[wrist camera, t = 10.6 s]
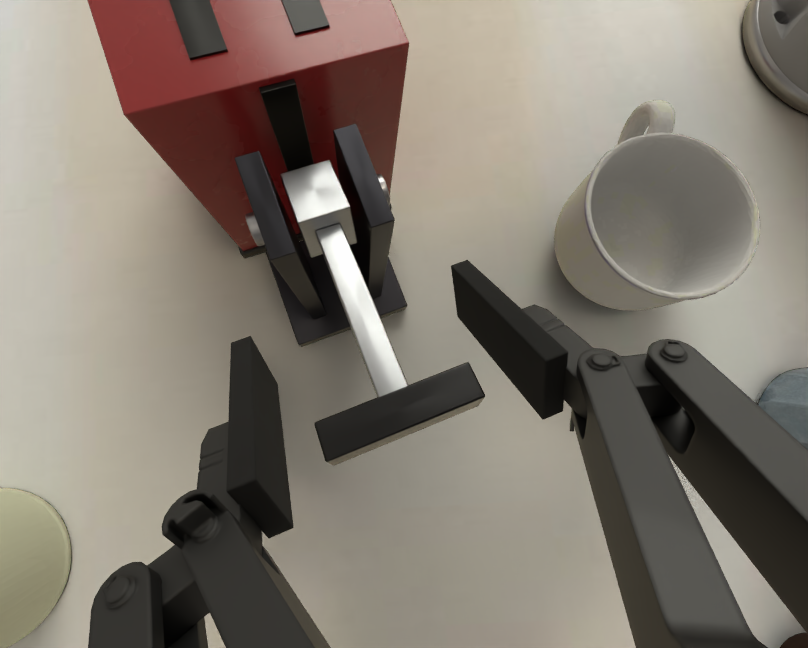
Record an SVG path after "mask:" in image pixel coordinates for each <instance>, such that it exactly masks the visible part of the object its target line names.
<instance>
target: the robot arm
mask: <svg viewBox="0 0 808 648" xmlns="http://www.w3.org/2000/svg"><path fill="white" fill-rule="evenodd" d="M743 40H744V45H745V49H746V52H747V55H748V57H749V60H750V62H751V64H752V66H753V68H754V70H755V71H756V73H757V74H758V76H759V77H760V79H761V80H762V81H763V82H764V84H765V85H766V86H767V87H768V88H769V89H770V90H771V91H772V92H773V93H774V94H775V95H776V96H777V97H779V98H780V99H781V100H782V101H784V102H785V103H787V104H788V105H790V106H791V107H793V108H795V109H797V110H799V111H801V112H803V113H805V114H808V0H751V1H750V2H749V4H748V6H747V8H746V11H745V14H744V19H743ZM451 269H452V276H453V284H454V292H455V300H456V307H457V315H458V318H459V319H460V320H461V321H462V322H463V324H464V325H465V326H466V327H467V328H468V330H469V331H470V332H471V333H472V334H473V336H474V337H475V338H476V339H477V340H478V342H479V343H480V344H481V345H482V347H483V348H484V349H485V350H486V351H487V353H488V354H489V355H490V356H491V357H492V359H493V360H494V361H495V362H496V363H497V365H498V366H499V367H500V368H501V370H502V371H503V372H504V373H505V374H506V376H507V377H508V378H509V379H510V380H511V382H512V383H513V384H514V385H515V386H516V388H517V389H518V390H519V391H520V393H521V394H522V395H523V396H524V397H525V399H526V400H527V401H528V402H529V403H530V405H531V406H532V407H533V408H534V409H535V411H536V412H537V413H538V414H539V416H540V417H541V418H542V419H546V418H548V417H550V416H553V415H555V414H557V413H560V412H562V411H563V403H564V400H565V401H566V402H567V403H568V404H569V406H570V407H571V408H572V412H571V421H570V431H574V427H575V431H576V434H577V438H578V441H579V445H580V449H581V452H582V456H583V459H584V463H585V467H586V470H587V474H588V477H589V481H590V484H591V488H592V492H593V495H594V499H595V502H596V506H597V509H598V513H599V517H600V520H601V524H602V527H603V531H604V535H605V538H606V542H607V545H608V549H609V552H610V556H611V560H612V563H613V567H614V570H615V574H616V578H617V581H618V585H619V588H620V592H621V595H622V599H623V603H624V606H625V610H626V613H627V617H628V620H629V624H630V628H631V631H632V635H633V638H634V642H635V646H636V648H767V647H766V646H765V645H763V644H762V643H761V642H759V641H758V640H757V639H756V638H755V636H754V635H753V634H752V632H751V630H750V629H749V627H748V625H747V623H746V621H745V619H744V617H743V614H742V612H741V610H740V608H739V606H738V604H737V602H736V599H735V597H734V595H733V593H732V591H731V589H730V587H729V584H728V582H727V580H726V578H725V576H724V574H723V572H722V570H721V567H720V565H719V563H718V561H717V559H716V557H715V555H714V552H713V550H712V548H711V546H710V544H709V542H708V540H707V538H706V535H705V533H704V531H703V529H702V527H701V525H700V523H699V520H698V518H697V516H696V514H695V512H694V510H693V508H692V505H691V503H690V501H689V499H688V497H687V495H686V493H685V491H684V488H683V486H682V484H681V482H680V480H679V478H678V476H677V473H676V471H675V469H674V467H673V465H672V463H671V461H670V458H669V456H670V457H671V459H672V460H673V461H674V463H675V464H676V465H677V466H678V468H679V469H680V470H681V472H682V473H683V474H684V475H685V477H686V478H687V479H688V481H689V482H690V483H691V484H692V486H693V487H694V488H695V490H696V491H697V492H698V493H699V495H700V496H701V497H702V499H703V500H704V501H705V502H706V504H707V505H708V506H709V508H710V509H711V510H712V511H713V513H714V514H715V515H716V517H717V518H718V519H719V520H720V522H721V523H722V524H723V526H724V527H725V528H726V529H727V531H728V532H729V533H730V535H731V536H732V537H733V538H734V540H735V541H736V542H737V544H738V545H739V546H740V547H741V549H742V550H743V551H744V553H745V554H746V555H747V556H748V558H749V559H750V560H751V562H752V563H753V564H754V565H755V567H756V568H757V569H758V571H759V572H760V573H761V574H762V576H763V577H764V578H765V580H766V581H767V582H768V583H769V585H770V586H771V587H772V589H773V590H774V591H775V592H776V594H777V595H778V596H779V597H780V599H781V600H782V601H783V603H784V604H785V605H786V606H787V608H788V609H789V610H790V612H791V613H792V614H793V615H794V617H795V618H796V619H797V621H798V622H799V623H800V624H801V626H802V627H803V628H804V630H805V631H806V632H807V633H808V449H807V448H805V447H804V446H803V445H802V444H801V443H800V442H799V441H798V440H796V439H795V438H794V437H793V436H792V435H791V434H790V433H789V432H787V431H786V430H785V429H784V428H783V427H782V426H781V425H780V424H778V423H777V422H776V421H775V420H774V419H773V418H772V417H771V416H770V415H768V414H767V413H766V412H765V411H764V410H763V409H762V408H761V407H759V406H758V405H757V404H756V403H755V402H754V401H753V400H752V399H750V398H749V397H748V396H747V395H746V394H745V393H744V392H743V391H742V390H740V389H739V388H738V387H737V386H736V385H735V384H734V383H733V382H731V381H730V380H729V379H728V378H727V377H726V376H725V375H724V374H722V373H721V372H720V371H719V370H718V369H717V368H716V367H715V366H714V365H712V364H711V363H710V362H709V361H708V360H707V359H706V358H705V357H703V356H702V355H701V354H700V353H699V352H698V351H697V350H696V349H694V348H693V347H691V346H690V345H688V344H686V343H683V342H681V341H677V340H670V339H666V340H658V341H656V342H653V343H652V344H651V345H650V346H649V348H648V352H647V354H640V355H632V356H619V355H617V354H616V353H614V352H613V351H609V350H606V349H597V348H593V347H591V346H590V345H589V344H588V343H587V342H585V341H584V340H583V339H582V338H581V337H579V336H578V335H577V334H576V333H575V332H573V331H572V330H571V329H570V328H569V327H567V326H565V325H564V323H563V322H561V321H560V320H559V319H557V317H555V316H554V315H553V314H552V313H551V312H549V311H548V310H547V309H544V308H542V307H539V306H537V305H532V306H529V307H526V308H524V309H521V308H520V307H519V306H517V305H516V304H515V303H514V302H513V301H512V300H511V299H510V298H509V297H508V296H506V295H505V294H504V293H503V292H502V291H501V290H500V289H499V288H498V287H497V286H495V285H494V284H493V283H492V282H491V281H490V280H489V279H488V278H487V277H486V276H484V275H483V274H482V273H481V272H480V271H479V270H478V269H477V268H476V267H475V266H473V265H472V264H471V263H470V262H469V261H468V260H466V261H463V262H460V263H457V264H454V265H452V266H451ZM668 455H669V456H668ZM200 459H201V460H200V463H199V470H200V471H199V473H198V483H197V490H193V491H190V492H188V493H187V494H185V495H183V496H182V497H180V498H179V499H178V500H177V501H176V502H175V503H174V504H173V505H172V506H171V507H170V509H169V510H168V512H167V513H166V515H165V517H164V520H163V523H162V533H163V535H164V536H165V537H166V538H167V539H169V540H170V541H171V542H173V543H174V544H175V545H174V546H173V547H172V548H171V549H169V550H168V551H166V552H165V553H164V554H162V555H161V556H160V557H158V558H157V559H156V560H154V561H153V562H152V563H150V564H149V565H147V566H146V565H145V564H144V563H142V562H132V563H129V564H127V565H125V566H122V567H121V568H119V569H118V570H117V571H115V572H114V573H113V574H112V575H110V577H109V578H108V579H107V580H106V581H105V582H104V583H103V585H102V586H101V587H100V589H99V591H98V593H97V595H96V596H95V598H94V602H93V606H92V609H91V620H90V633H89V645H88V648H208V643H207V635H206V628H205V620H204V616H206V615H207V614H208V613H209V612H210V614H211V616H212V618H213V620H214V622H215V625H216V627H217V629H218V631H219V633H220V635H221V638H222V640H223V642H224V644H225V646H226V648H331V647H330V646H329V644H328V643H327V641H326V640H325V638H324V637H323V635H322V634H321V632H320V631H319V629H318V628H317V626H316V625H315V623H314V621H313V620H312V618H311V617H310V615H309V614H308V612H307V611H306V609H305V608H304V606H303V605H302V603H301V602H300V600H299V599H298V597H297V596H296V594H295V593H294V591H293V589H292V588H291V586H290V585H289V583H288V582H287V580H286V579H285V577H284V576H283V574H282V573H281V571H280V570H279V568H278V567H277V565H276V564H275V562H274V561H273V559H272V557H271V556H270V554H269V553H268V551H267V550H266V549H265V548H264V547H263V546H262V532H263V533H264V534H265V535H266V536H267V537H268V538H271V537H273V536H275V535H278V534H280V533H282V532H285V531H287V530H289V529H292V528H293V519H292V510H291V501H290V492H289V483H288V474H287V465H286V456H285V447H284V438H283V429H282V420H281V411H280V402H279V394H278V385H277V382H276V380H275V379H274V377H273V375H272V373H271V371H270V370H269V368H268V366H267V364H266V363H265V361H264V359H263V357H262V355H261V354H260V352H259V350H258V348H257V347H256V345H255V343H254V341H253V339H252V338H251V336H249V337H246V338H243V339H241V340H238V341H235V342H232V343H231V361H230V392H229V422H227V423H224V424H222V425H219V426H216V427H214V428H211V429H209V430H208V432H207V434H206V436H205V438H204V440H203V442H202V444H201V453H200Z"/></svg>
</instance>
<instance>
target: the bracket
mask: <svg viewBox="0 0 808 648" xmlns="http://www.w3.org/2000/svg"><path fill="white" fill-rule="evenodd" d="M333 134H334V142H335V150H336V158H337V167H338V175H339V181H340V184H341V186H342V188H343V190H344V193H345V195H346V197H347V199H348V202H349V204H350V206H351V211H352V217H353V222H354V227H355V232H356V238H357V243H355V244H352V245H350V247H351V249H352V252H353V254H354V256H355V259H356V261H357V264H358V266H359V268H360V271H361V273H362V275H363V278H364V280H365V283H366V285H367V287H368V290H369V292H370V295H371V297H372V299H373V302H374V304H375V307H376V309H377V311H378V314H379V316H380V318H382V317H385V316H388V315H391V314H393V313H396V312H399V311H402V310H404V309H406V307H407V303H406V301H405V298H404V296H403V293H402V291H401V288H400V285H399V283H398V280H397V278H396V275H395V273H394V270H393V268H392V265H391V263H390V260H389V257H388V254H389V248H390V243H391V237H392V231H393V226H394V217H393V214H392V212H391V209H390V207H389V205H390V196H389V192H388V188H387V185H386V182H385V180H384V178H383V176H382V175H381V174H376V172H375V169H374V167H373V164H372V162H371V159H370V157H369V154H368V152H367V149H366V147H365V144H364V142H363V139H362V137H361V134H360V132H359V129H358V127H357V125H356V124H353V125H349V126H346V127H342V128H339V129H335V130H333ZM235 162H236V165H237V167H238V170H239V173H240V176H241V179H242V182H243V185H244V187H245V190H246V193H247V196H248V199H249V202H250V204H251V207H252V210H253V212H251V213H248V214H246V215H245V218H246V222H247V225H248V227H249V230H250V232H251V235H252V237H253V239H254V241H255V243H256V244H257V245H258V246H263V245H265V247H266V250H267V252H266V254H267V257H268V260H269V263H270V265H271V268H272V271H273V274H274V277H275V280H276V282H277V285H278V288H279V291H280V294H281V297H282V300H283V302H284V305H285V308H286V311H287V314H288V317H289V319H290V322H291V325H292V328H293V331H294V334H295V337H296V339H297V342H298V344H299V345H300V346H301V347H302V346H305V345H308V344H311V343H313V342H316V341H319V340H322V339H324V338H327V337H330V336H333V335H335V334H338V333H341V332H344V331H346V330H349V329H351V327H350V324H349V321H348V319H347V316H346V313H345V311H344V308H343V306H342V303H341V300H340V298H339V295H338V292H337V290H336V287H335V284H334V282H333V279H332V277H331V274H330V271H329V269H328V266H327V263H326V261H325V258H324V255H323V254H321V255H318V256H315V257H310V255H309V252H308V250H307V247H306V245H305V242H304V240H303V241H300V242H299V240H298V238H297V235H296V233H295V231H294V229H293V226H292V224H291V222H290V219H289V217H288V215H287V213H286V210H285V208H284V206H283V203H282V201H281V199H280V197H279V194H278V192H277V190H276V187H275V185H274V183H273V181H272V178H271V176H270V174H269V172H268V169H267V167H266V165H265V162H264V160H263V158H262V156H261V153H260V152H259V151H256V152H253V153H249V154H246V155H242V156H238V157H235Z"/></svg>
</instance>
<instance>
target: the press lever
mask: <svg viewBox="0 0 808 648" xmlns="http://www.w3.org/2000/svg"><path fill="white" fill-rule="evenodd" d="M280 177H281V180H282V182H283V185H284V188H285V191H286V194H287V196H288V199H289V202H290V205H291V208H292V210H293V213H294V216H295V219H296V221H297V224H298V227H299V229H300V232H301V234H302V237H303V240H304V242H305V245H306V247H307V250H308V252H309V255H310V257H315V256H318V255H321V254H323V255H324V258H325V261H326V263H327V266H328V269H329V271H330V274H331V277H332V279H333V282H334V284H335V287H336V290H337V292H338V295H339V298H340V300H341V303H342V306H343V308H344V311H345V313H346V316H347V319H348V321H349V324H350V327H351V329H352V332H353V335H354V337H355V340H356V343H357V345H358V348H359V350H360V353H361V356H362V358H363V361H364V364H365V366H366V369H367V372H368V374H369V377H370V379H371V382H372V385H373V387H374V390H375V393H376V395H377V398H375V399H373V400H370V401H368V402H365V403H362V404H360V405H357V406H355V407H352V408H350V409H347V410H345V411H342V412H340V413H337V414H335V415H332V416H329V417H327V418H324V419H322V420H319V421H317V422H315V428H316V431H317V435H318V438H319V441H320V445H321V448H322V451H323V455H324V458H325V461H326V462H327V463H329V464H331V465H337V464H339V463H342V462H344V461H347V460H349V459H351V458H354V457H356V456H359V455H361V454H364V453H366V452H368V451H371V450H373V449H376V448H378V447H380V446H383V445H385V444H388V443H390V442H392V441H395V440H397V439H400V438H402V437H405V436H407V435H409V434H412V433H414V432H417V431H419V430H421V429H424V428H426V427H429V426H431V425H433V424H436V423H438V422H441V421H443V420H446V419H448V418H450V417H453V416H455V415H458V414H460V413H462V412H465V411H467V410H470V409H472V408H474V407H477V406H479V404H480V403H481V402H482V400H483V399H484V397H485V394H484V392H483V390H482V388H481V386H480V384H479V382H478V380H477V378H476V376H475V374H474V372H473V370H472V368H471V366H470V364H469V363H468V362H467V363H464V364H461V365H459V366H456V367H454V368H451V369H449V370H446V371H444V372H441V373H439V374H436V375H434V376H431V377H428V378H426V379H423V380H421V381H418V382H416V383H413V384H411V385H408V383H407V381H406V378H405V376H404V373H403V371H402V369H401V366H400V364H399V362H398V359H397V357H396V354H395V352H394V350H393V347H392V345H391V342H390V340H389V338H388V335H387V333H386V330H385V328H384V326H383V323H382V321H381V319H380V316H379V314H378V311H377V309H376V307H375V304H374V302H373V299H372V297H371V295H370V292H369V290H368V287H367V285H366V283H365V280H364V278H363V275H362V273H361V271H360V268H359V266H358V264H357V261H356V259H355V256H354V254H353V252H352V249H351V247H350V245H352V244H355V243H357V238H356V232H355V227H354V222H353V217H352V211H351V206H350V204H349V202H348V199H347V197H346V195H345V193H344V190H343V188H342V186H341V184H340V181H339V179H338V177H337V174H336V172H335V170H334V168H333V165H332V163H331V161H330V160H326V161H323V162H319V163H316V164H312V165H309V166H305V167H302V168H298V169H295V170H292V171H288V172H285V173H281V174H280Z"/></svg>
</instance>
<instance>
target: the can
mask: <svg viewBox="0 0 808 648" xmlns="http://www.w3.org/2000/svg"><path fill="white" fill-rule="evenodd" d="M70 565H71V545H70V538H69V535H68V531H67V529H66V526H65V524H64V522H63V520H62V518H61V517H60V516H59V514H58V513H57V512H56V510H55V509H54V508H53V507H52V506H51V505H50V504H48V503H47V502H46V501H44V500H43V499H41V498H40V497H38V496H36V495H34V494H32V493H29V492H26V491H23V490H18V489H11V488H0V648H7V647H9V646H11V645H12V644H14V643H16V642H18V641H19V640H21V639H22V638H24V637H25V636H27V635H28V634H29V633H30V632H32V631H33V630H34V629H35V628H36V627H37V626H38V625H39V624H40V623H41V622H42V621H43V620H44V619H45V618H46V617H47V616H48V614H49V613H50V612H51V610H52V609H53V608H54V606H55V605H56V603H57V601H58V600H59V598H60V596H61V594H62V592H63V590H64V587H65V585H66V582H67V579H68V575H69V571H70Z"/></svg>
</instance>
